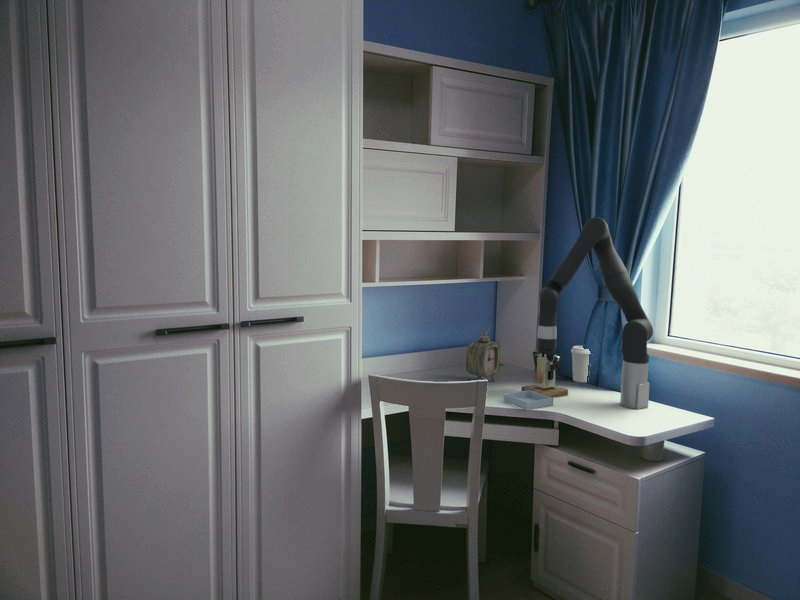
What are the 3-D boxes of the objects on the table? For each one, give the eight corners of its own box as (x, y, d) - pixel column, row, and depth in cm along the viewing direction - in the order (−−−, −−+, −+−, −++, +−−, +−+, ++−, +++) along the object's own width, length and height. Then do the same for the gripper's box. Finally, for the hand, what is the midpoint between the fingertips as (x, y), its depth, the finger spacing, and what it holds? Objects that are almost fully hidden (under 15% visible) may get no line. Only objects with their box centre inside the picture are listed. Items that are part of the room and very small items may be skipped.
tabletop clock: (481, 387, 262) (484, 328, 259) (463, 383, 267) (465, 325, 265) (499, 380, 273) (501, 324, 270) (481, 377, 279) (483, 322, 276)
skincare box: (547, 384, 255) (548, 355, 254) (555, 386, 251) (556, 357, 250) (535, 386, 252) (536, 356, 251) (543, 388, 248) (544, 358, 247)
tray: (553, 405, 235) (553, 398, 235) (526, 410, 229) (526, 402, 228) (529, 397, 247) (529, 390, 246) (503, 401, 240) (503, 393, 240)
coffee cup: (591, 379, 280) (593, 346, 278) (591, 384, 271) (593, 350, 269) (569, 377, 283) (571, 344, 281) (568, 381, 274) (570, 348, 272)
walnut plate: (567, 395, 251) (568, 389, 251) (541, 399, 244) (542, 393, 244) (546, 388, 261) (547, 382, 261) (521, 392, 254) (521, 386, 254)
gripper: (567, 338, 246) (565, 381, 247) (541, 333, 258) (540, 374, 259) (553, 340, 242) (551, 383, 243) (527, 335, 254) (526, 376, 256)
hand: (545, 378), depth 251 cm, fingers closed on skincare box, 4 cm apart
